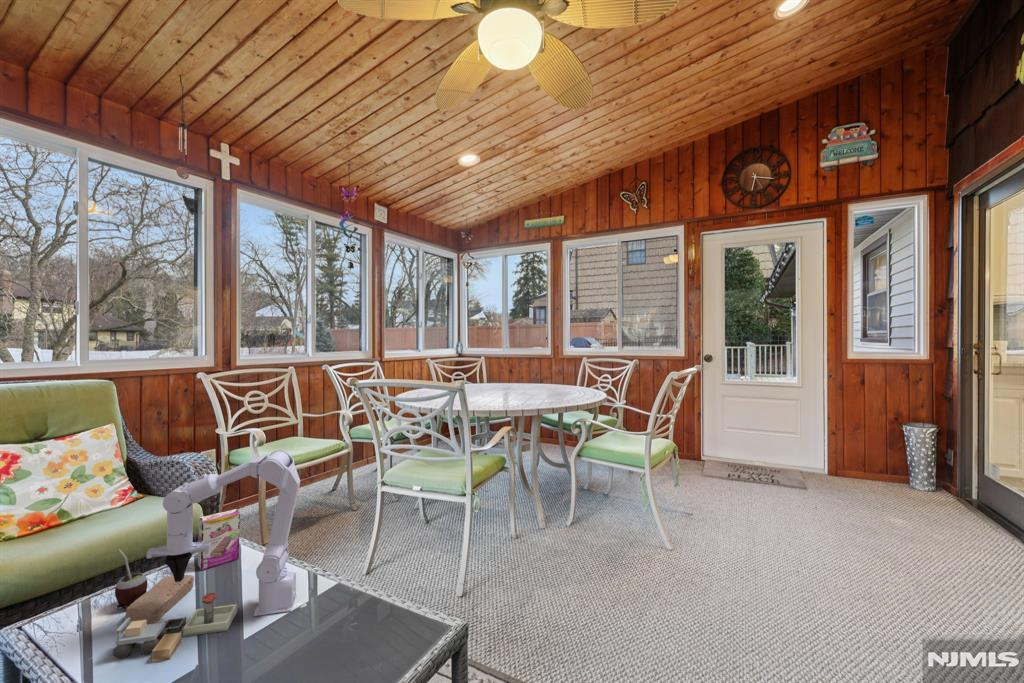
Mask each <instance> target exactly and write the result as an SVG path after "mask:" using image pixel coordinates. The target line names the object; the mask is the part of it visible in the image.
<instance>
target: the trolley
mask: <svg viewBox="0 0 1024 683" xmlns="http://www.w3.org/2000/svg"><path fill="white" fill-rule="evenodd" d="M165 623H166V622H155V623H153V624H147V620H139V621H132V622H131V617H130V618H127V619H126V620H125V619H124V621H123V622H122V623H121V625H119V627H118V628H117V629H116V630H115V636H116V637H115V639H116V640H115V643H114V644H115V648H113V651H112V655H113V657H114V658H115V659H119V660H120V659H121V660H122V659H125V658H126V657H128V656H129V654H130V653H131V652H132V651H133V649H134V648H133V647H135V646H136V645H138V643H143V644H142V645H141V646H140V651H141V653H142V654H144V655H148V656H149V655H152V651H153V649H154V648H155V647H156V645H157V644H158V643H159V641H160V640H161V639H162V637H163V636H164V635H165V634H167V629H166V628H164V627H165ZM124 628H125V630H124V631H123V629H124ZM122 631H123V632H122Z"/></svg>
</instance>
